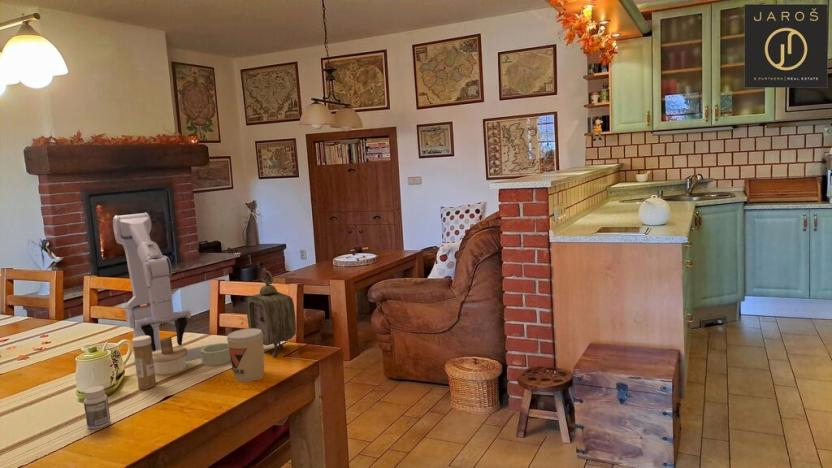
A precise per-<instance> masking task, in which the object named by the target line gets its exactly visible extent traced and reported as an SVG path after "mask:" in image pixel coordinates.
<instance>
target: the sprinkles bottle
mask: <svg viewBox="0 0 832 468" xmlns="http://www.w3.org/2000/svg"><path fill="white" fill-rule="evenodd" d="M131 345H132V347H133V351H134V354H133V356H134V364H135V371H136V377H137V384H138V389H139V390H150V389H152V388H154V387H155V386H157V380H156V379H157V378H156V374H155V370H154V362H153V356H152V349H151V337H150V336H139V337H135V338H134V337H133V338H132V340H131ZM149 388H150V389H149Z"/></svg>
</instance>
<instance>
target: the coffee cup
mask: <svg viewBox="0 0 832 468" xmlns="http://www.w3.org/2000/svg"><path fill="white" fill-rule="evenodd" d="M226 341H227V343H228V346H229V352H230V357H231V361H230V362H231V367H232V375H233V377H234V380H235V381H236V382H245V383H246V382H252V381H256V380H259V379H261V378H262V377H263V376H264V375H265V359H264V345H263V332H262V331H261V330H260V329H254V328H253V329H249V328H242V329H237V330H234V331H232V332H230V333H228V335H227V337H226Z"/></svg>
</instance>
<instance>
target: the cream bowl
mask: <svg viewBox="0 0 832 468" xmlns="http://www.w3.org/2000/svg"><path fill="white" fill-rule="evenodd" d="M186 367H187V361H186V356H184V357H181V358H179V359H176V360H172V361H167V362H154V370H155V375H169V374H173V373H176V372H177V373H178V372H179V371H182V370H184V369H185V368H186Z"/></svg>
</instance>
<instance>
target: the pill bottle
mask: <svg viewBox="0 0 832 468" xmlns="http://www.w3.org/2000/svg"><path fill="white" fill-rule="evenodd" d="M105 392H106V391H105V387H104V386H102V385H98V386H92V387H89V388H86V389H85V390H84V391H83V394H84V399H83V405H84V406H83V407H84V413H85V420H86V426H87V428H88V429H91V430H94V429H100V428H103V427H105V426H108V425H109V424H110V423H111V415H110V408H109V400H108V399H109V398H108V395H107V394H105Z"/></svg>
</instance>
